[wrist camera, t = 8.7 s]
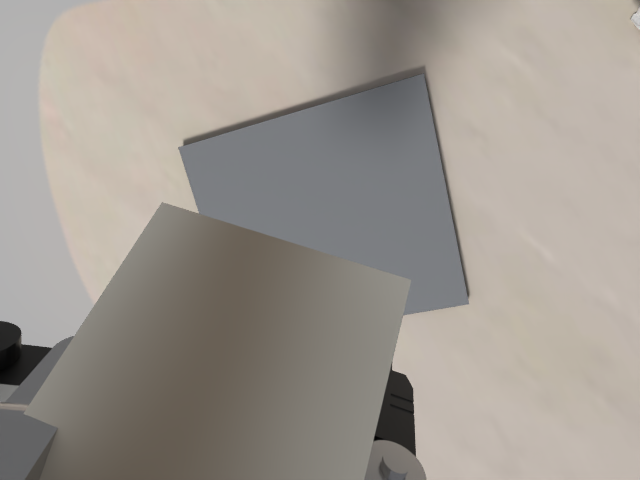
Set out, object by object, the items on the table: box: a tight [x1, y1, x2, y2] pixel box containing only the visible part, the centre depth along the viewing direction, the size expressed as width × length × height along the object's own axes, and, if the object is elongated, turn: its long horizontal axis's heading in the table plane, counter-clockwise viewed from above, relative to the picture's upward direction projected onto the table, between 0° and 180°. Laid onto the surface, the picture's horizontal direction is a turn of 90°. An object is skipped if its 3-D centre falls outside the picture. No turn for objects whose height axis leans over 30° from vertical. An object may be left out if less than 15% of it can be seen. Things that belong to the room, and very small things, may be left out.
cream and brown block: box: [24, 202, 411, 480], centre depth 10 cm, size 5×5×10 cm
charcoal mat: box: [178, 73, 469, 315], centre depth 28 cm, size 18×16×1 cm
